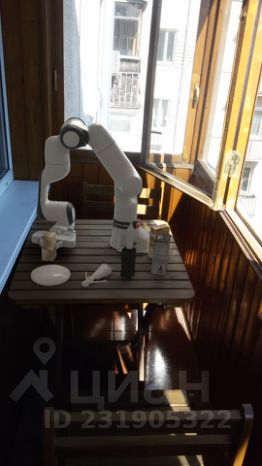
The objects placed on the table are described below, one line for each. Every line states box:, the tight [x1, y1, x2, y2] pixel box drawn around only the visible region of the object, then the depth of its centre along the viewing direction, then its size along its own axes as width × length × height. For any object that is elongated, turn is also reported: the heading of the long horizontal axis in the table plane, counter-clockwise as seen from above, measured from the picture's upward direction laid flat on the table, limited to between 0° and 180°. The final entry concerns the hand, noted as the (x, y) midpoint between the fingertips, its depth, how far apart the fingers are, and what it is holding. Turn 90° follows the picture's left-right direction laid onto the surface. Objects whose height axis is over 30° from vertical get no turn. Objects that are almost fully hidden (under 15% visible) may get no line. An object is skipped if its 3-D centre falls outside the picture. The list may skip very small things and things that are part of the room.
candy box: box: [147, 223, 171, 259], centre depth 184 cm, size 9×4×15 cm, turn 125°
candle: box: [119, 222, 137, 280], centre depth 162 cm, size 5×5×25 cm
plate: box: [30, 264, 71, 287], centre depth 162 cm, size 16×16×1 cm
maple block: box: [41, 230, 57, 263], centre depth 174 cm, size 5×5×12 cm
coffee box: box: [150, 233, 172, 276], centre depth 171 cm, size 9×6×16 cm
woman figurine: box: [81, 263, 113, 288], centre depth 162 cm, size 12×4×18 cm
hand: (48, 246), depth 173 cm, fingers open, 5 cm apart
